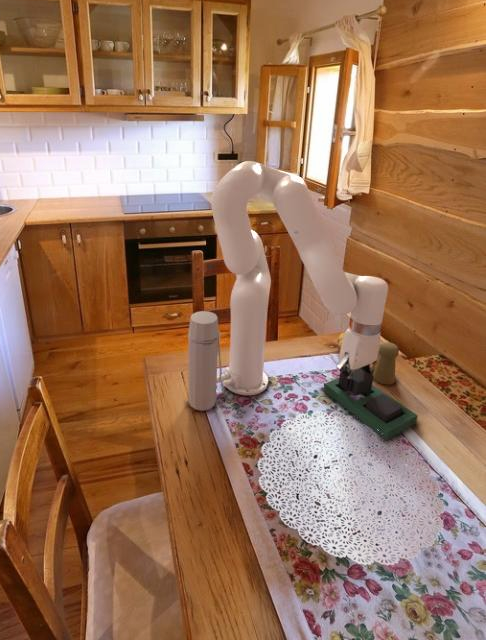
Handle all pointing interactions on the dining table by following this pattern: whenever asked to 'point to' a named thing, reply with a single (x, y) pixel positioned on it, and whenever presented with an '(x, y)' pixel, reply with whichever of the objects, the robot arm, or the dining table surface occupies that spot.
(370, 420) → the green rectangular frame
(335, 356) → the dining table surface
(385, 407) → the pad
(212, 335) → the water bottle
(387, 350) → the pepper mill
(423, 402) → the dining table surface
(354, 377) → the pad
